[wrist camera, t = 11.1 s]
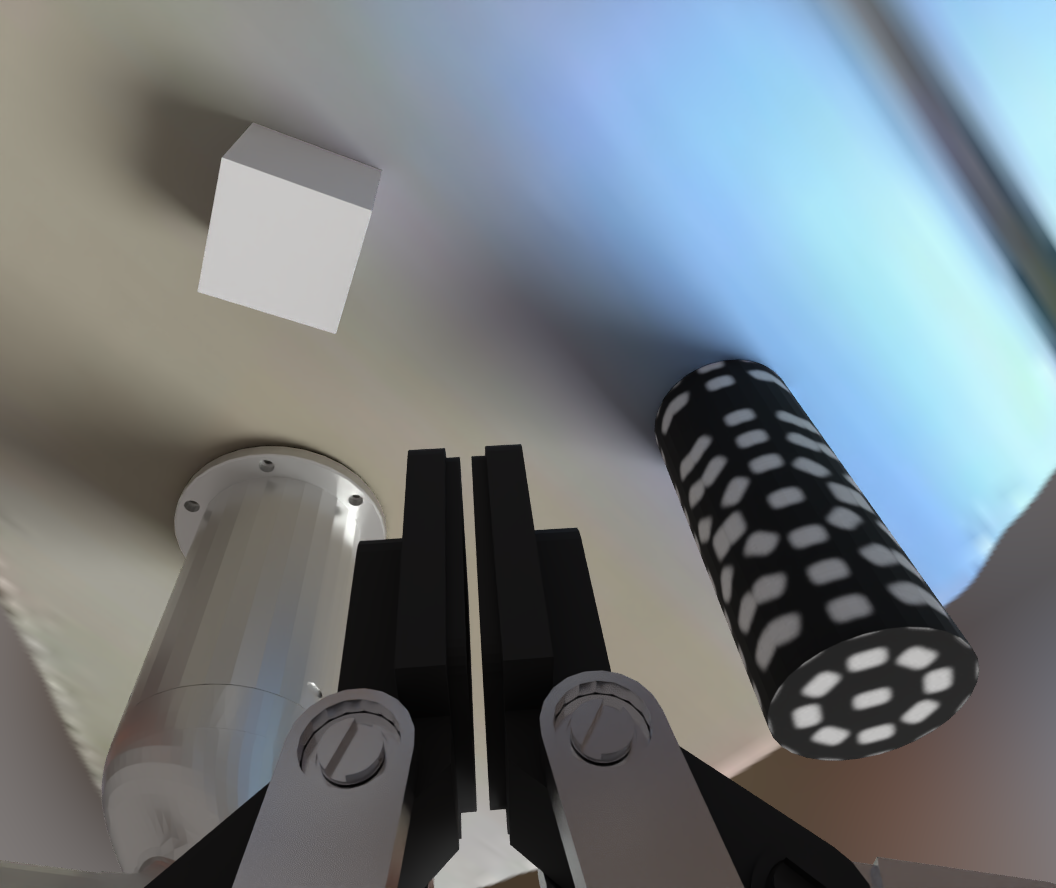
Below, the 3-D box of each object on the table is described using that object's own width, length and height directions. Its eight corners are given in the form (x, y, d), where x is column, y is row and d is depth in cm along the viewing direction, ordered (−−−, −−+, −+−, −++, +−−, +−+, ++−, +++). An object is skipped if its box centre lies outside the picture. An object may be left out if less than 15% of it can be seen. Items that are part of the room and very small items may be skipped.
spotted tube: (670, 490, 49) (782, 779, 33) (639, 386, 44) (752, 665, 28) (798, 450, 48) (978, 728, 32) (780, 340, 43) (980, 600, 27)
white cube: (229, 241, 38) (196, 291, 33) (253, 121, 35) (220, 156, 30) (350, 281, 39) (335, 334, 34) (382, 169, 36) (372, 210, 31)
